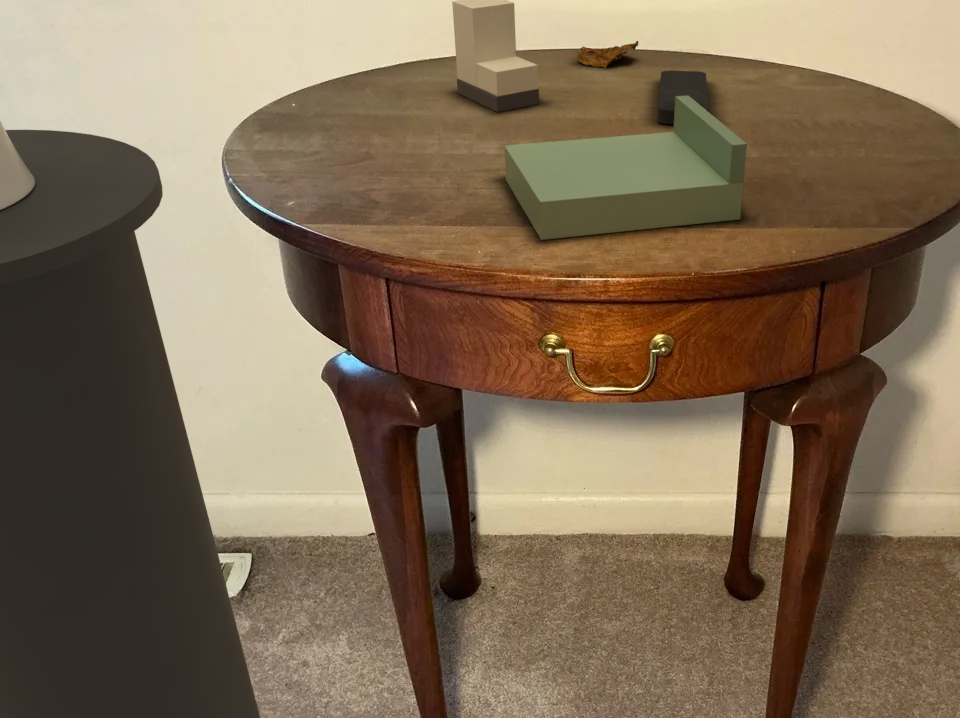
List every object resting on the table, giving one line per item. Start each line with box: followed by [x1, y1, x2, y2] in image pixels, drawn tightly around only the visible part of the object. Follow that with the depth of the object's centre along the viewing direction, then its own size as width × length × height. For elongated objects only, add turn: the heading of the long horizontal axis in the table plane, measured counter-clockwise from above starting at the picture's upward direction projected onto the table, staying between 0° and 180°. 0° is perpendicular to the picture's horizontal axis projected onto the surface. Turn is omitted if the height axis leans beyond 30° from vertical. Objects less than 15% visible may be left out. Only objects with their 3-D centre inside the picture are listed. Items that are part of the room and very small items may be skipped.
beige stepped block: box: [451, 0, 540, 113], centre depth 106 cm, size 8×5×9 cm, turn 36°
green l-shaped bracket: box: [504, 96, 748, 241], centre depth 84 cm, size 16×13×6 cm
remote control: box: [657, 70, 709, 125], centre depth 107 cm, size 5×2×15 cm
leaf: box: [576, 40, 639, 69], centre depth 121 cm, size 6×7×2 cm
